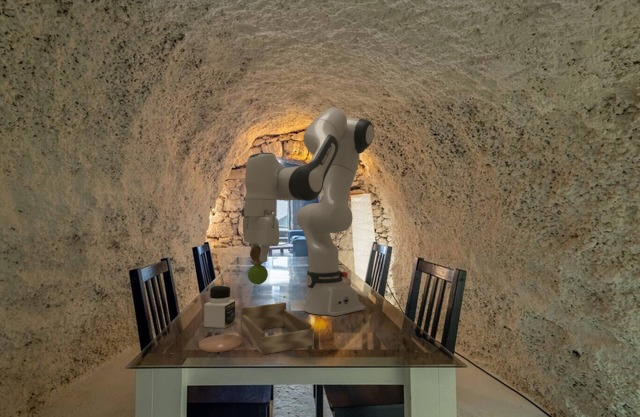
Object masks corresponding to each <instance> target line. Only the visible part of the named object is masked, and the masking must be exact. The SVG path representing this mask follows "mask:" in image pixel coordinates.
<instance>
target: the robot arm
mask: <svg viewBox="0 0 640 417" xmlns="http://www.w3.org/2000/svg"><path fill="white" fill-rule="evenodd" d="M374 136H375V128H374V125H373V123H372V121H370V120H367V119H365V118H356V117H349V116H346V114H345V113H344V111H343V110H341V109H340V108H337V107H329V108H327V109H325V110H324V111H323V112H321V113H320V114H319V115H318V116H316V118H315V119H313V121H312V122H311V123H310V124H309V125H308V126H307V128H306V129H305V132H304V134H303V143H304V145H305V148H306V149H307V151H308V152H309V153H310V154H312V157H311V158H310V161H308V163H307V162H306V164H302V165H301V164H300V165H298V166H290V167H286V166H285V165H283V164H282V163H281V162H280V161H279V160H278V159H277V157H276V154H275V153H273V152H258V153H253V154H250V156H249V157H248V158H247V161H246V165H245V173H244V185H245V189H246V190H245V191H246V192H245V196H244V205H243V207H242V209H241V210H240V215H241V217H242V218H243V219H242V237H243V241H244V242H245V243H249V244H250V250H251V249H252V248H253V247H255V246H258V247H260V249H261V254H260V255H259V261H260V262H264V263H267V262H268V256H269V252H270V249H271V247H278V246H279V243H280V225H279V218H278V217H277V214H278V213H277V212H278V210H277V207H278V203H277V202H278V201H305V202H311V201H314V200H315V199H317V198H318V196H320V194H321V192H322V191H323V195H322V199H321V202H314V203H313V202H312V203H309V204H306V205H304V206H302V207H300V208H299V210H298V212H297V214H296V221H297V224H298V226H299V228H300V229H301V230H302V232H303V235H304V237H305V238H304V239H305V242H306V243H305V244H306V247H307V259H308V260H307V262H308V263H307V264H308V265H307V266H308V267H307V268H308V269H307V271H306V284H307V285H306V286H307V292H306V300H305V303H304V307H303V311H304V312H306V313H308V314H312V315H322V316H324V315H325V316H331V317H332V316H333V317H338V316H341V315H345V314H346V315H347V314H350V313H354V312H359V311H364V310H365V309H366V307H365V305H364V304H363V303H362V302H360V301H359V300H360V299H359V295H358V293H357V291H356V290H355V289H354V288H353V287H352V286H350V284H348V283H347V282H345V281H344V279H343V278H345V279H346V278H348V276H349V273H348V272H347V271H341V270H339V267H340V266H339V248H338V247H337V246H336V244H335V243H334V241H333V240H332V236H331V234H337V233H341V232H345V231H347V230H349V229H350V227H351V226H352V223H353V212H352V210H351V208H350V206H349V195H350V191H351V188H352V185H353V182H354V180H355V177H356V174H357V172H358V171H357V170H358V167H359V163H360V154H363V153H364V152H365V150H366V149H368V147H370V146H371V144H372V142H373V140H374Z"/></svg>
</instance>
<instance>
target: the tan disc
mask: <svg viewBox="0 0 640 417" xmlns="http://www.w3.org/2000/svg"><path fill="white" fill-rule="evenodd" d="M242 344H243V339H242V337H240V336H239V335H236V334H216V335H215V334H214V335H212V336H211V335H210V336H208V337H205V338H202V339H201V340H200V341H199V342H198V348H199V349H200V350H201V351H203V352H207V353H222V352H228V351H233V350H235V349H238V348H239V347H240V346H242Z"/></svg>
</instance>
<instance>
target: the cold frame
mask: <svg viewBox="0 0 640 417" xmlns="http://www.w3.org/2000/svg"><path fill="white" fill-rule="evenodd" d="M281 327H284V328H285V329H286V330H288V331H289V332H285V333H279V334H274V335H273V334H271V335H266V332H265V331H264V330H265V329H266V330H268V329H273V328H281ZM240 333H241V334H243V336H244V337H246V339H248V341H249V342H250V343H251V344H252V345H253V347H254V348H255V349H256V350H257V351H258V352H259V353H260V354H261V355H262V356H263V355H268V354H273V353H280V352H284V351H290V350H294V349H299V348H306V347H311V346H314V329H313V326H312V324H311V323H309V322H308V321H305V319H303V318H301V317H299V316H298V315H296V314H294V313H293V312H291V311H289V310H288V309H287V302H279V303H278V302H277V303H268V304H262V305H261V304H260V305H251V306H245V307H240Z"/></svg>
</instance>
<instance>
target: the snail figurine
mask: <svg viewBox="0 0 640 417" xmlns="http://www.w3.org/2000/svg"><path fill="white" fill-rule="evenodd" d="M260 254H261V249H260V247H258V246H255V247H253V248H252V249H251V248H250V251H249V258H250V259H251V260H250V261H249V262H250V263H251V265H252V266H251V267H250V268H249V270H248V272H247V278H248V280H249V282H250V283H252V284H253V285H262V284H263V283H265V282H266V281H267V279H268V276H269V273H268V268H266V267H265V266H264V265H262V264H264V263H265V262H260V261H259V255H260Z"/></svg>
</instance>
